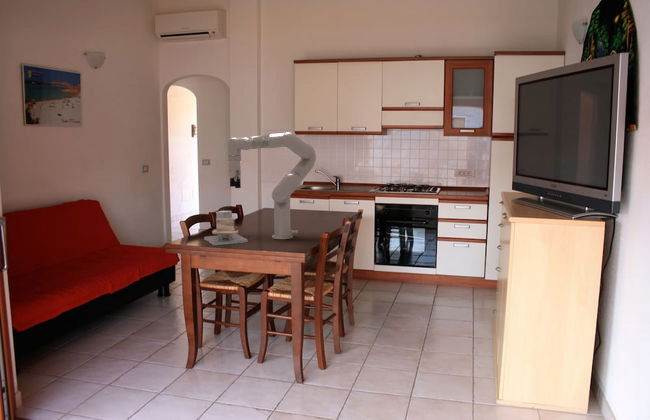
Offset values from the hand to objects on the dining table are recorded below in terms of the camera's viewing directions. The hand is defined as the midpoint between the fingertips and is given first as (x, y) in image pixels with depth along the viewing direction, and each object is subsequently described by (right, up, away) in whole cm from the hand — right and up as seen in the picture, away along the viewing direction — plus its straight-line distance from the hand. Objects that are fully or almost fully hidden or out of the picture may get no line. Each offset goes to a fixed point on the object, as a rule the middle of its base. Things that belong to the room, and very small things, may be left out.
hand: (235, 187), depth 333 cm
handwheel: (-5, -30, -6) cm, 31 cm away
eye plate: (-5, -32, -6) cm, 32 cm away
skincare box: (-9, -29, +12) cm, 33 cm away
